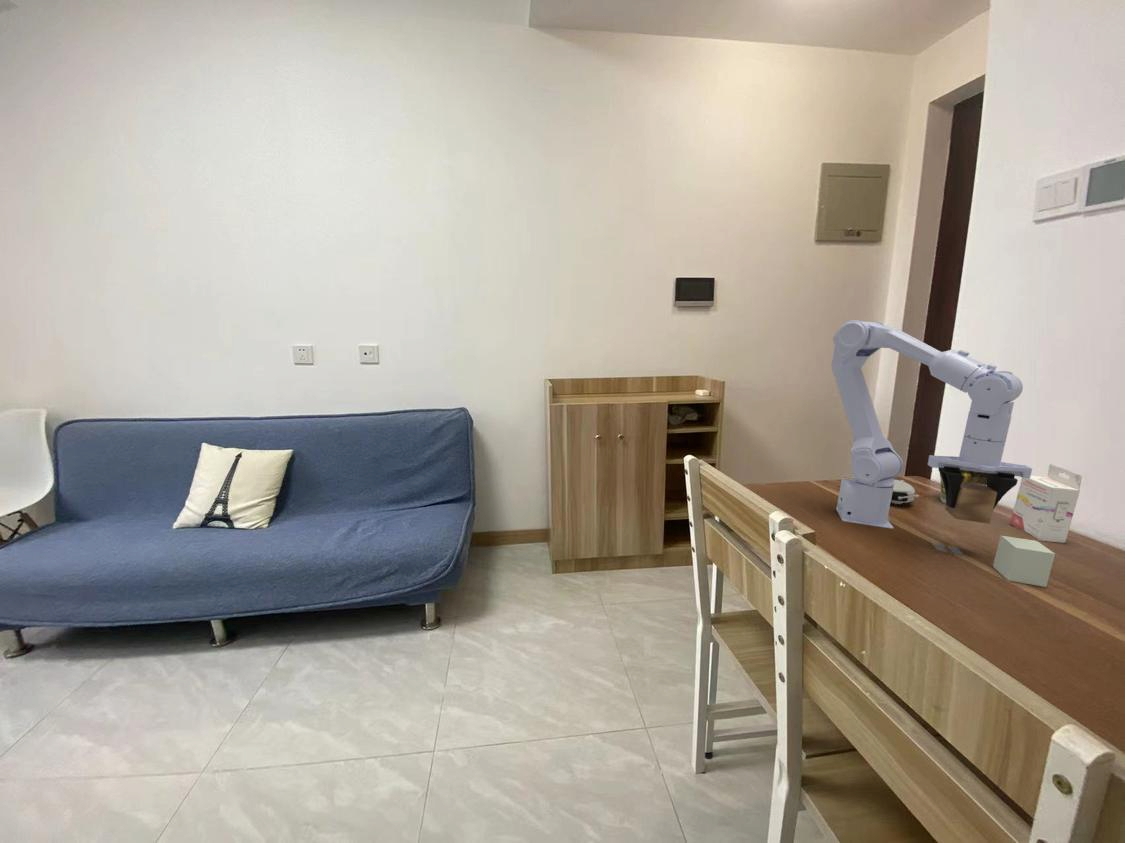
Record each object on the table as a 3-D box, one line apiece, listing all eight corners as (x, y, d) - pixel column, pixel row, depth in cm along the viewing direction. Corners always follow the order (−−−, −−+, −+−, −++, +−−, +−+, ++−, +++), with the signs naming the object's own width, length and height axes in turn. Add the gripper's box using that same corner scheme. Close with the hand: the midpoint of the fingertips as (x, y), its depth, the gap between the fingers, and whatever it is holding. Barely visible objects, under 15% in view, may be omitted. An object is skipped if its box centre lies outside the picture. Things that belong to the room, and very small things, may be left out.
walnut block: (955, 518, 85) (962, 488, 84) (945, 509, 90) (951, 480, 89) (989, 523, 83) (997, 492, 82) (977, 513, 88) (983, 484, 87)
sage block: (1007, 580, 78) (1016, 547, 76) (992, 566, 82) (1000, 535, 81) (1046, 587, 76) (1055, 553, 75) (1028, 572, 81) (1036, 540, 79)
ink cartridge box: (1007, 524, 103) (1023, 460, 100) (1033, 526, 102) (1050, 463, 99) (1038, 541, 95) (1056, 472, 92) (1066, 544, 94) (1086, 475, 91)
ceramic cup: (930, 493, 121) (938, 456, 119) (980, 502, 116) (989, 464, 113) (933, 508, 111) (942, 468, 109) (988, 519, 105) (999, 477, 103)
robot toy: (846, 504, 114) (920, 511, 108) (848, 487, 113) (922, 492, 107) (838, 489, 125) (905, 494, 119) (839, 473, 124) (906, 477, 118)
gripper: (944, 438, 82) (929, 509, 85) (1049, 448, 77) (1030, 523, 80) (929, 430, 89) (916, 496, 92) (1025, 439, 84) (1008, 509, 87)
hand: (968, 508), depth 86 cm, fingers closed on walnut block, 5 cm apart
